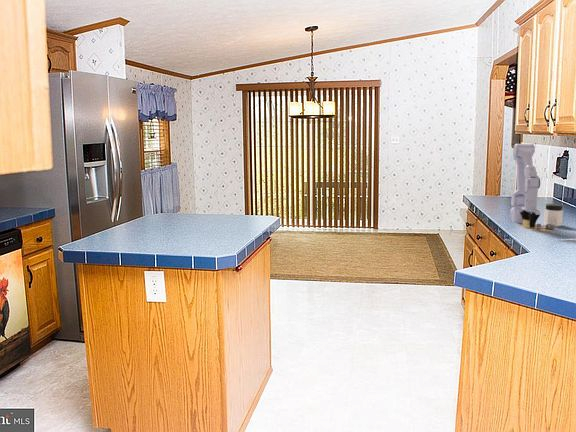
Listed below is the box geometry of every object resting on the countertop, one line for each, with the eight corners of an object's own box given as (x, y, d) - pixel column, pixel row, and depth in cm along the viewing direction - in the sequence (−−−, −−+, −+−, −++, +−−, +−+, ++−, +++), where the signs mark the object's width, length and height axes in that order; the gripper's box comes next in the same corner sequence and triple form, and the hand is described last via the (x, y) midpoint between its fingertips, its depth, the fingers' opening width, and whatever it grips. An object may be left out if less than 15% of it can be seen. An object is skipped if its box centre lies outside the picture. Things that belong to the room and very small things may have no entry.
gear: (542, 228, 279) (543, 222, 279) (551, 228, 280) (551, 222, 279) (548, 230, 274) (549, 224, 274) (557, 230, 275) (557, 224, 275)
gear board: (517, 227, 287) (518, 220, 287) (539, 226, 289) (540, 219, 289) (536, 233, 272) (536, 225, 271) (559, 232, 274) (560, 225, 273)
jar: (542, 227, 289) (544, 205, 287) (543, 224, 296) (545, 203, 294) (561, 228, 285) (563, 206, 283) (561, 226, 292) (564, 204, 290)
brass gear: (521, 226, 285) (522, 219, 284) (530, 226, 286) (530, 218, 285) (527, 228, 280) (527, 220, 279) (535, 228, 281) (536, 220, 280)
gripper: (515, 198, 287) (513, 223, 289) (532, 202, 273) (530, 228, 275) (527, 198, 288) (525, 223, 290) (545, 202, 274) (542, 228, 276)
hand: (528, 226), depth 283 cm, fingers closed on brass gear, 5 cm apart
